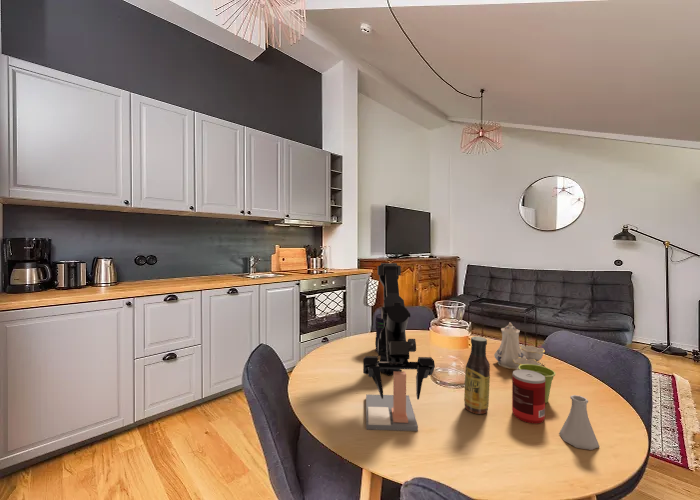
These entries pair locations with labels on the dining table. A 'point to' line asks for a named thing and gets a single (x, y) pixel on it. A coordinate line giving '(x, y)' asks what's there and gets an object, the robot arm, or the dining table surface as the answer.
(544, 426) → the dining table surface
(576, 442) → the flask
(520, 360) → the chinaware
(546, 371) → the plant pot
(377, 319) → the storage jar
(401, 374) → the stub
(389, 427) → the ticket board
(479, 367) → the sauce bottle
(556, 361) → the dining table surface
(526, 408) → the canned food
